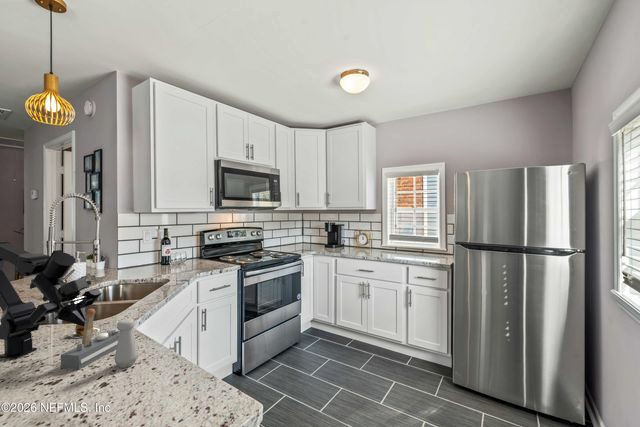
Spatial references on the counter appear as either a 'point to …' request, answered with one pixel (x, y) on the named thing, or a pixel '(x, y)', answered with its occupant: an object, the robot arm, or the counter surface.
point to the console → (89, 352)
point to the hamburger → (81, 331)
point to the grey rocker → (113, 330)
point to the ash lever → (88, 326)
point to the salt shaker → (126, 344)
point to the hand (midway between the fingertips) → (86, 325)
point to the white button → (102, 336)
